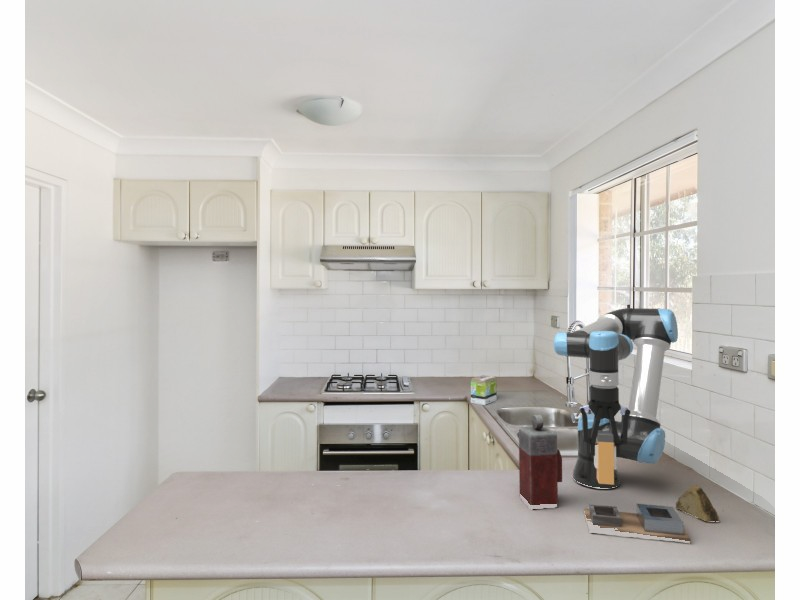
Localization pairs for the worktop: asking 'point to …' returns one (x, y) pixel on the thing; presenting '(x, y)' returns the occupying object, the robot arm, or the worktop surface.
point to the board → (622, 521)
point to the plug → (605, 457)
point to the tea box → (483, 389)
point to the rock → (697, 504)
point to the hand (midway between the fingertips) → (604, 466)
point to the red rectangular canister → (539, 463)
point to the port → (659, 519)
